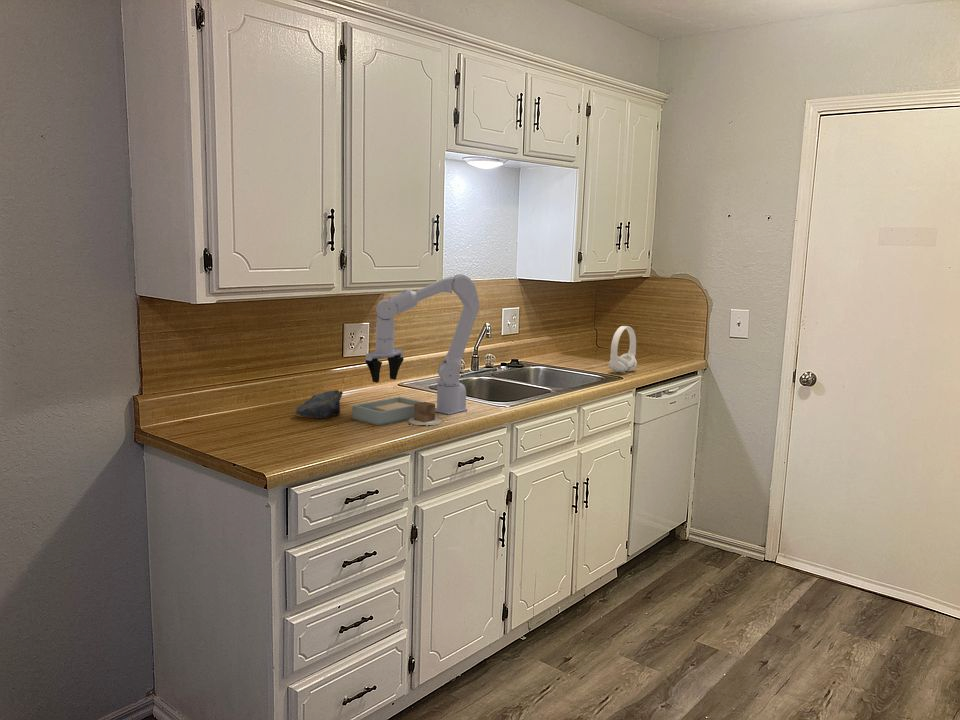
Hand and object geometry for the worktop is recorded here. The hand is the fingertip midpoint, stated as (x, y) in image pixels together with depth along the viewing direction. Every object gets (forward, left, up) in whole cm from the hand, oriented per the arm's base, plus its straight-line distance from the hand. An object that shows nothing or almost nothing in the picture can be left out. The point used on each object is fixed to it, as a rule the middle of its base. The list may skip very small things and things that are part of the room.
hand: (384, 380), depth 247 cm
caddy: (+4, +7, -10) cm, 13 cm away
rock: (+20, -7, -10) cm, 23 cm away
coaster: (+1, +19, -10) cm, 21 cm away
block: (+1, +19, -9) cm, 21 cm away
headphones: (-126, +16, -10) cm, 127 cm away
